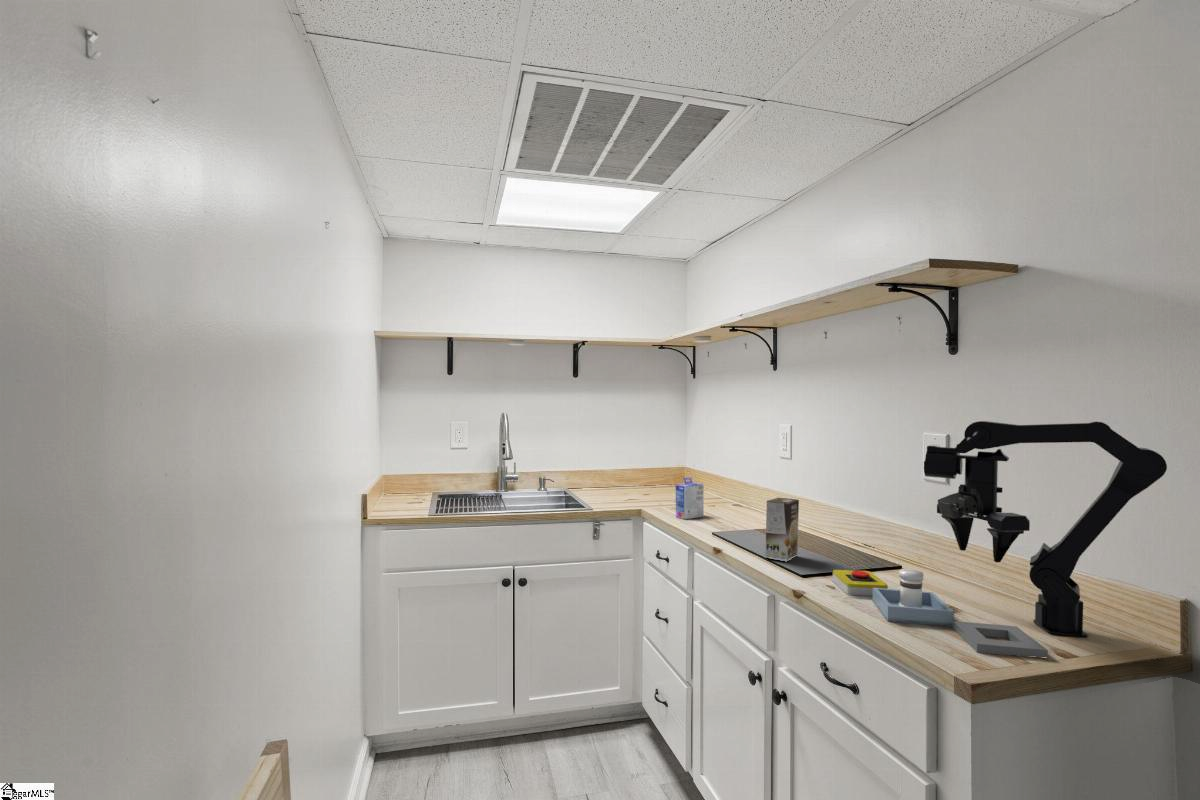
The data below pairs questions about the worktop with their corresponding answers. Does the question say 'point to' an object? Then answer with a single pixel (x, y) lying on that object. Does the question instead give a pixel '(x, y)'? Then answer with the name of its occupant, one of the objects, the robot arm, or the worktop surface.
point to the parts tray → (913, 608)
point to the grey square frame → (1016, 645)
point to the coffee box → (782, 528)
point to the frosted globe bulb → (910, 588)
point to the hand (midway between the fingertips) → (979, 556)
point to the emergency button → (857, 583)
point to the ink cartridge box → (689, 500)
